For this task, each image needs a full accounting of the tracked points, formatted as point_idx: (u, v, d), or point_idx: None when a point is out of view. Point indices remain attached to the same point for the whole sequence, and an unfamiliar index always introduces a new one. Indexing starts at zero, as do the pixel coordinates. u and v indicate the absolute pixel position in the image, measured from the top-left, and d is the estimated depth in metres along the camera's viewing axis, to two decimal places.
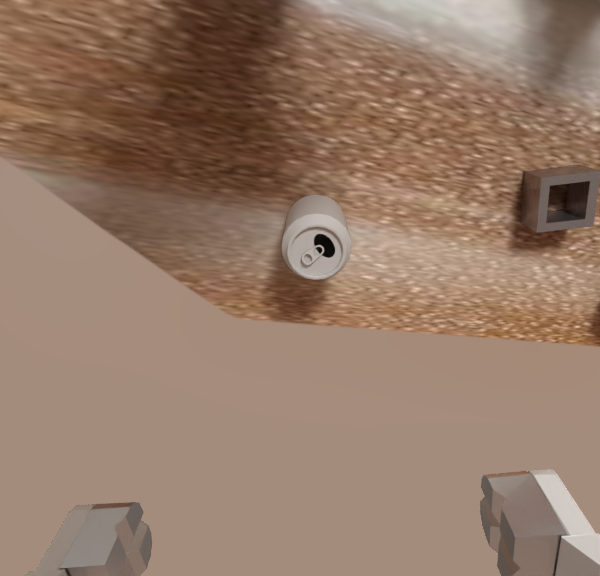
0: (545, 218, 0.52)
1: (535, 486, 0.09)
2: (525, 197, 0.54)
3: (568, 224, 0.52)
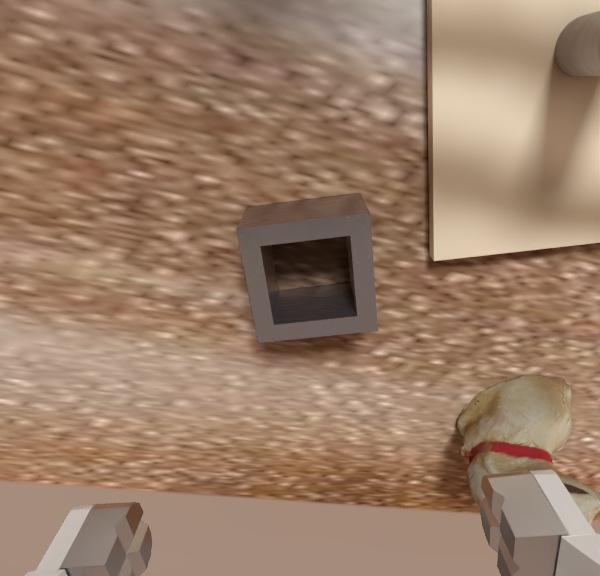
0: (269, 314, 0.23)
1: (535, 486, 0.09)
2: None
3: (324, 326, 0.23)
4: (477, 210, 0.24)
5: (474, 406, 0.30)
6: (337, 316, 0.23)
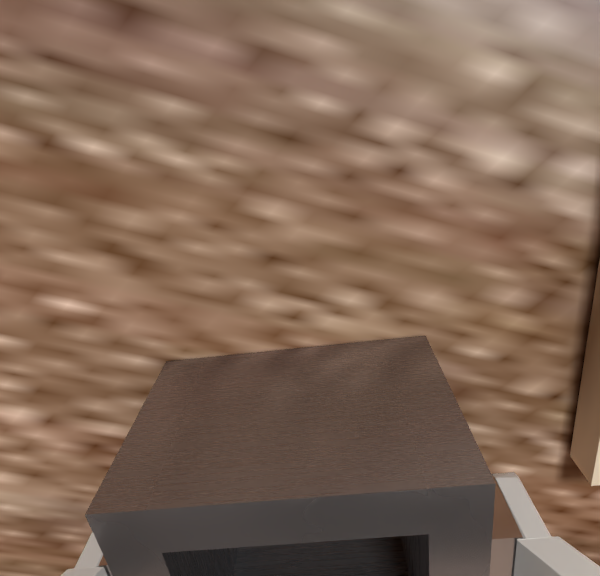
0: None
1: (496, 489, 0.09)
2: None
3: None
4: None
5: None
6: None
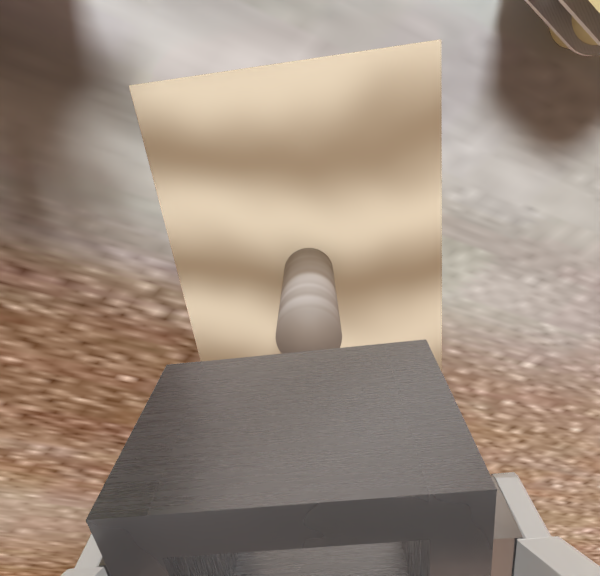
0: None
1: None
2: None
3: None
4: None
5: None
6: None
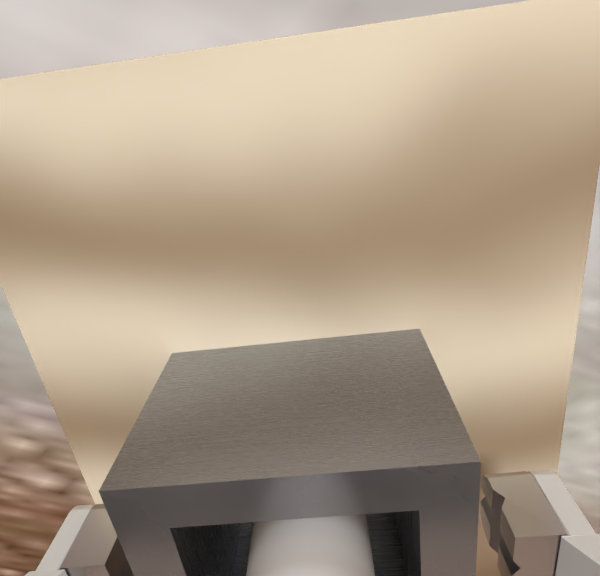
0: None
1: (535, 486, 0.09)
2: None
3: None
4: None
5: None
6: None
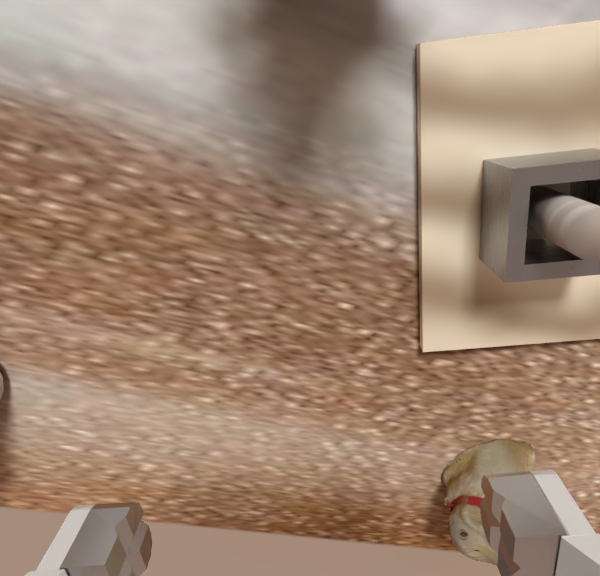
0: (522, 254, 0.25)
1: (535, 486, 0.09)
2: (486, 211, 0.27)
3: (571, 267, 0.25)
4: (456, 316, 0.31)
5: (456, 463, 0.37)
6: None
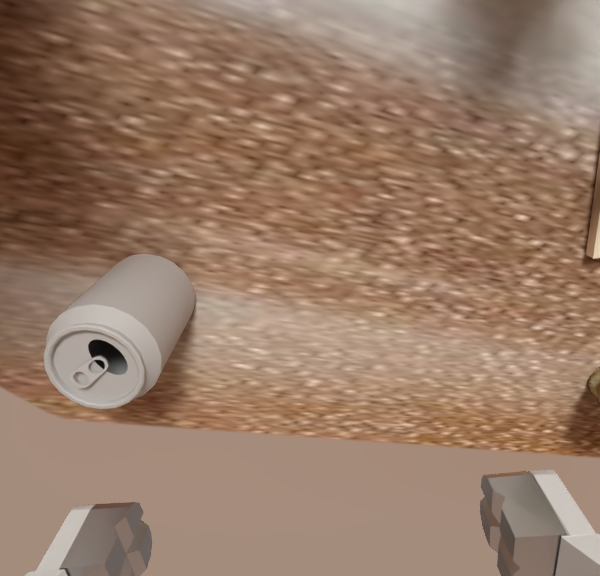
0: None
1: (535, 486, 0.09)
2: None
3: None
4: None
5: None
6: None
